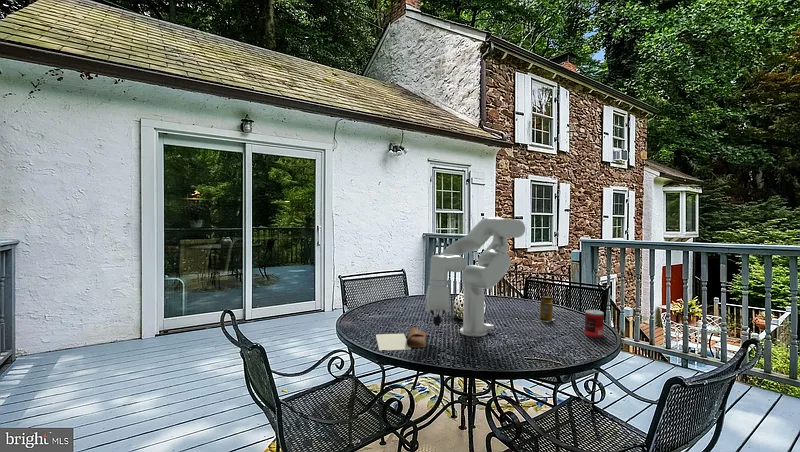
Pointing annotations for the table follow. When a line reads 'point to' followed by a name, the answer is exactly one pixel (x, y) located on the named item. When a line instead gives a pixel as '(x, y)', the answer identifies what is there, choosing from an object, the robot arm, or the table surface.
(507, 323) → the table surface
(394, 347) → the mat
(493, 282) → the robot arm
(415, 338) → the sunglasses case
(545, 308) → the condiment
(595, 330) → the canned food
